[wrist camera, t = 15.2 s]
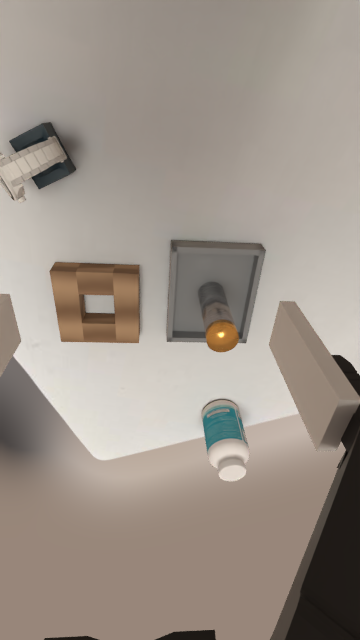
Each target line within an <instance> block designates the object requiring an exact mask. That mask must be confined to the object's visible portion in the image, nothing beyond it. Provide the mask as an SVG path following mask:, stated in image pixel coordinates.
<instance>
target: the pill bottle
mask: <svg viewBox="0 0 360 640" xmlns="http://www.w3.org/2000/svg"><path fill="white" fill-rule="evenodd" d="M202 419H203V426H204V433H205V440H206V446H207V454H208V459H209V462H210V463H211V465H212V466H214V467H215V468H217V469H218V473H219V477H220V478H221V479H222V480H225V481H235V480H239V479H241V478H242V477H244V476H245V474H246V467H245V464H246V462H247V461H248V459H249V456H250V451H249V447H248V443H247V440H246V436H245V432H244V429H243V424H242V420H241V417H240V413H239V410H238V407H237V406H236V405H235V404H234V403H233V402H230V401H227V400H217V401H214V402H211V403H210V404H208V405H207V406H206V407H205V408H204V410H203V412H202Z"/></svg>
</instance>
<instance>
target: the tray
mask: <svg viewBox="0 0 360 640" xmlns="http://www.w3.org/2000/svg"><path fill="white" fill-rule="evenodd" d="M265 251H266V250H265V249H264V247H263V246H262V245H261V244H250V243H226V242H202V241H178V240H171V254H170V274H169V294H168V315H167V342H207V340H206V335H205V330H204V324H203V319H202V314H201V308H200V303H199V297H198V291H199V289H200V287H201V286H202V285H203V284H205V283H207V282H217V283H219V284H220V285H221V286H222V287H223V290H224V293H225V296H226V299H227V302H228V305H229V308H230V311H231V314H232V317H233V320H234V323H235V326H236V329H237V332H238V335H239V340H238V343H246V341H247V336H248V332H249V327H250V322H251V317H252V313H253V308H254V303H255V298H256V294H257V289H258V284H259V280H260V275H261V270H262V265H263V261H264V256H265Z"/></svg>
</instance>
